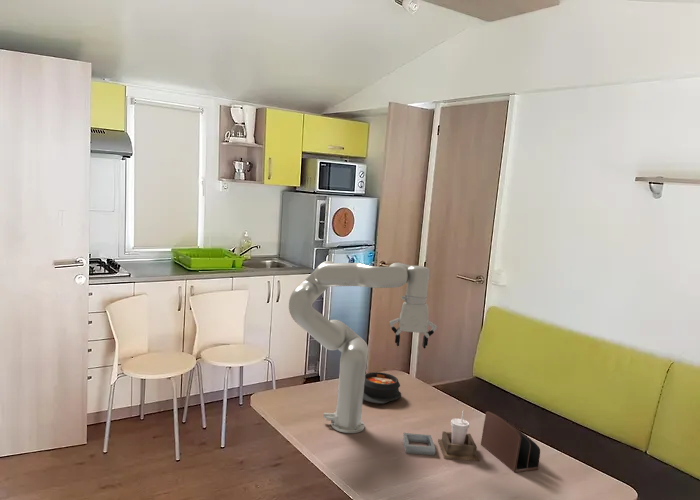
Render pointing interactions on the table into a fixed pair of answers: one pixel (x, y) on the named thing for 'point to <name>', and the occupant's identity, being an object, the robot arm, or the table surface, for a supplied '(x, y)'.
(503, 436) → the letter holder
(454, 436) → the smoothie
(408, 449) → the holder
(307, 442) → the table surface
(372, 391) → the casserole
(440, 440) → the socket
